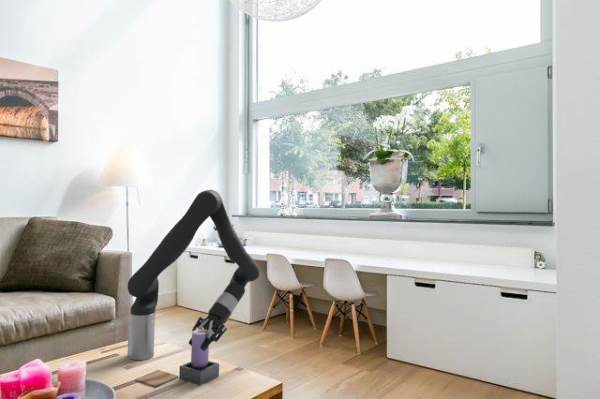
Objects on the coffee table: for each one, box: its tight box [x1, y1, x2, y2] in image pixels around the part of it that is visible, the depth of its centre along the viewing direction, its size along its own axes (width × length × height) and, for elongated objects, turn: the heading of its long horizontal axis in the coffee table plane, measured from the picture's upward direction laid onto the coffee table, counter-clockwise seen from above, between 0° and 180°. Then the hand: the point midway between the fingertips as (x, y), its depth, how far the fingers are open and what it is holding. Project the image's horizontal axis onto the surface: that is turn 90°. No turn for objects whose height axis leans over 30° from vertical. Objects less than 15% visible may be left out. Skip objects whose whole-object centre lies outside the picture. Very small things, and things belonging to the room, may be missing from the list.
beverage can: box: [190, 328, 210, 371], centre depth 154 cm, size 6×6×15 cm
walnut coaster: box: [135, 369, 179, 388], centre depth 151 cm, size 10×10×1 cm
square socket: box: [178, 360, 220, 386], centre depth 153 cm, size 10×10×4 cm
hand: (196, 347), depth 152 cm, fingers closed on beverage can, 6 cm apart
